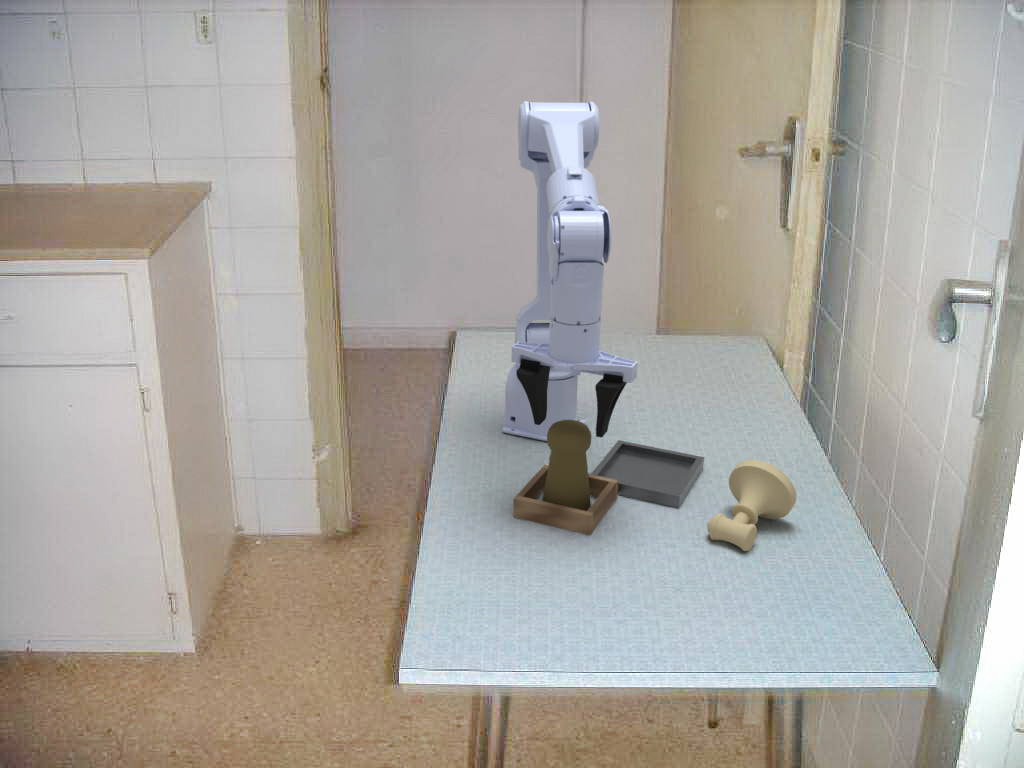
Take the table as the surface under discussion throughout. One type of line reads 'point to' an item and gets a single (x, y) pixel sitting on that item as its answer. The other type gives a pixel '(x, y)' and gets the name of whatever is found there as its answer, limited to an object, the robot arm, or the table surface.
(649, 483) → the grey square tray
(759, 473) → the door knob
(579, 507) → the olive peg figure
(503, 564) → the table surface
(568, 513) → the walnut stand
